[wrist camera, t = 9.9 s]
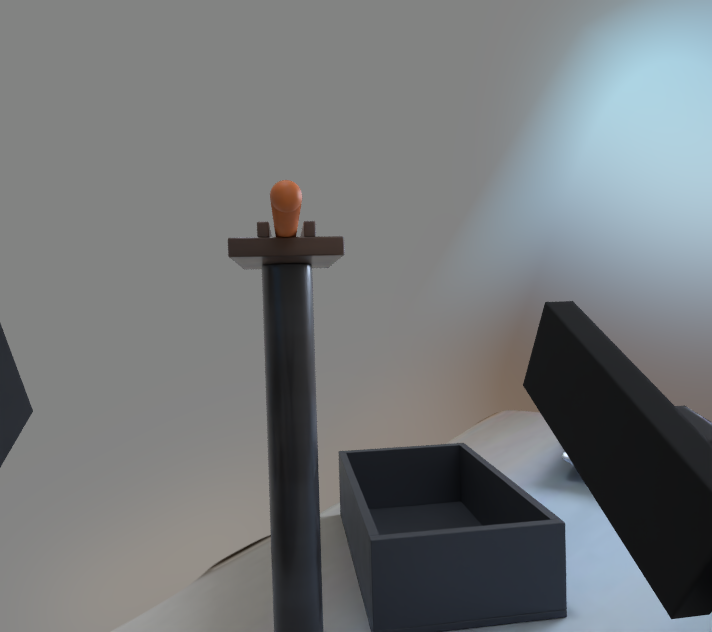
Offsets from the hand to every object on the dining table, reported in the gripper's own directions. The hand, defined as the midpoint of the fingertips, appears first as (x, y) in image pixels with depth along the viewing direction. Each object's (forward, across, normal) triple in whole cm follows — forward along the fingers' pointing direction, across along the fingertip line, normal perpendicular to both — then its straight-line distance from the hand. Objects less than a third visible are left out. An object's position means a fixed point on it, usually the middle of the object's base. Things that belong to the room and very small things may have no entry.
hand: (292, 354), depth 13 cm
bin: (+20, -13, +39) cm, 46 cm away
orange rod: (+16, 0, +4) cm, 17 cm away
